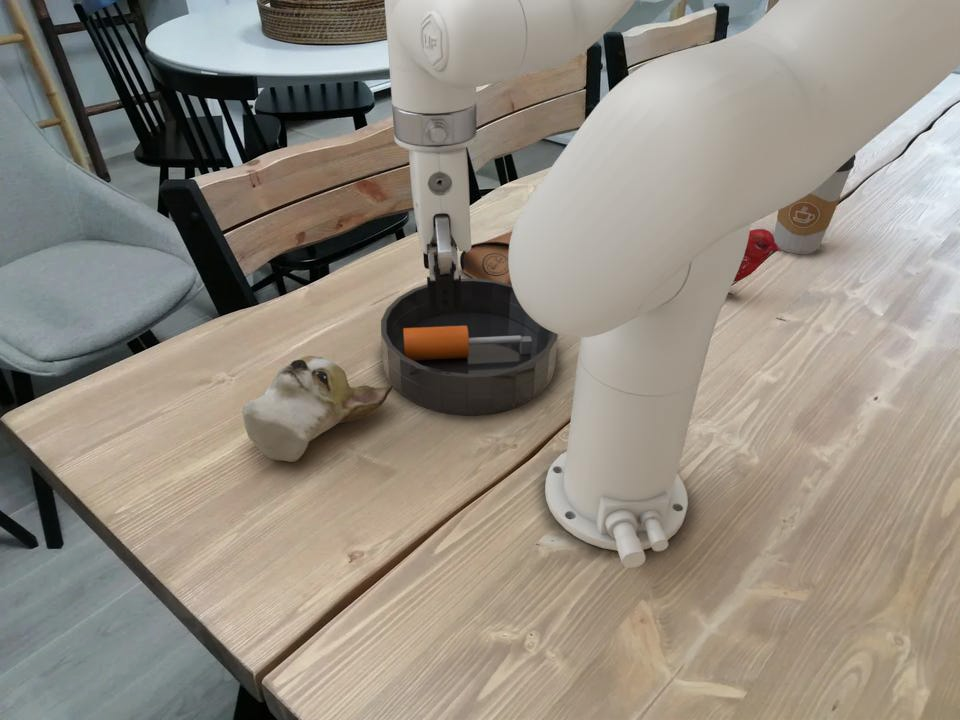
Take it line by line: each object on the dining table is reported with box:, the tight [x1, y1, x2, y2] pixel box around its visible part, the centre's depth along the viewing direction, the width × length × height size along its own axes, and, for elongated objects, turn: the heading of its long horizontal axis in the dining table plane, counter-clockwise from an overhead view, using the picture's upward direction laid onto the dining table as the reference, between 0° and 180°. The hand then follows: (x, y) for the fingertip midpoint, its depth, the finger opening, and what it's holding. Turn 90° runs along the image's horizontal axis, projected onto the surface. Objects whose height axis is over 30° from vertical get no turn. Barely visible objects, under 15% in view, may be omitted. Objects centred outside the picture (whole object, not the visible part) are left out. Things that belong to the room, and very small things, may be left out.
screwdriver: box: [403, 325, 532, 361], centre depth 82 cm, size 14×4×4 cm, turn 96°
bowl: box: [380, 277, 559, 416], centre depth 82 cm, size 19×19×5 cm
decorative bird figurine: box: [727, 228, 782, 296], centre depth 94 cm, size 3×18×10 cm, turn 65°
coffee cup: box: [773, 154, 857, 255], centre depth 103 cm, size 8×8×15 cm
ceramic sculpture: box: [241, 355, 393, 463], centre depth 71 cm, size 11×9×15 cm
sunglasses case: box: [459, 230, 513, 284], centre depth 101 cm, size 18×7×7 cm
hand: (441, 288), depth 77 cm, fingers open, 9 cm apart
